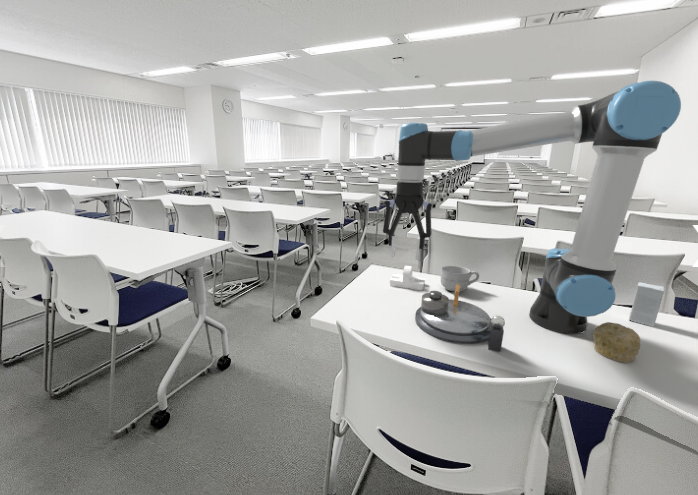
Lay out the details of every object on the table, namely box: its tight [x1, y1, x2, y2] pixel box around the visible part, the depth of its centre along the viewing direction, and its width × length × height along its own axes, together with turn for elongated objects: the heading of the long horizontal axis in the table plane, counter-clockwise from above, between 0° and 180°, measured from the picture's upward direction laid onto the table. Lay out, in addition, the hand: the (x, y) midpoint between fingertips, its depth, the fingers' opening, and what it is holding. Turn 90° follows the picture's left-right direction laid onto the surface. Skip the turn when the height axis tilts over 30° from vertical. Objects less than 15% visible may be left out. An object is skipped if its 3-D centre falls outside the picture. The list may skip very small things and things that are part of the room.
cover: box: [420, 290, 450, 316], centre depth 100 cm, size 8×8×6 cm
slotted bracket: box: [388, 265, 426, 291], centre depth 128 cm, size 13×7×8 cm, turn 71°
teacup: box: [440, 265, 480, 292], centre depth 124 cm, size 14×11×8 cm
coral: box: [592, 321, 641, 364], centre depth 85 cm, size 9×9×8 cm
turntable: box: [420, 284, 491, 336], centre depth 99 cm, size 20×22×7 cm
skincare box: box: [628, 281, 665, 328], centre depth 101 cm, size 6×4×12 cm
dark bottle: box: [487, 315, 506, 353], centre depth 86 cm, size 3×3×9 cm
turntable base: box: [414, 306, 492, 345], centre depth 100 cm, size 23×23×1 cm
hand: (405, 257), depth 100 cm, fingers open, 7 cm apart
